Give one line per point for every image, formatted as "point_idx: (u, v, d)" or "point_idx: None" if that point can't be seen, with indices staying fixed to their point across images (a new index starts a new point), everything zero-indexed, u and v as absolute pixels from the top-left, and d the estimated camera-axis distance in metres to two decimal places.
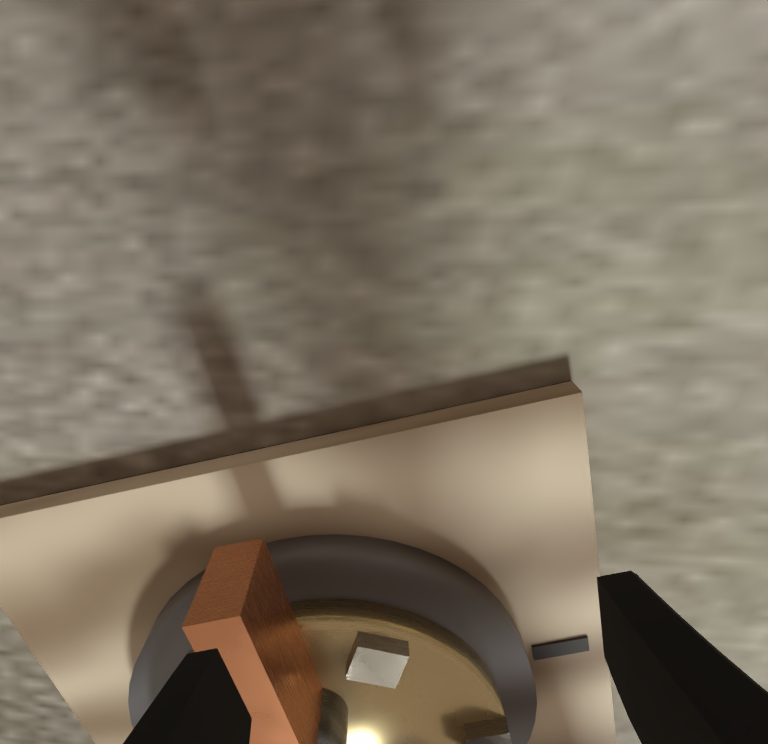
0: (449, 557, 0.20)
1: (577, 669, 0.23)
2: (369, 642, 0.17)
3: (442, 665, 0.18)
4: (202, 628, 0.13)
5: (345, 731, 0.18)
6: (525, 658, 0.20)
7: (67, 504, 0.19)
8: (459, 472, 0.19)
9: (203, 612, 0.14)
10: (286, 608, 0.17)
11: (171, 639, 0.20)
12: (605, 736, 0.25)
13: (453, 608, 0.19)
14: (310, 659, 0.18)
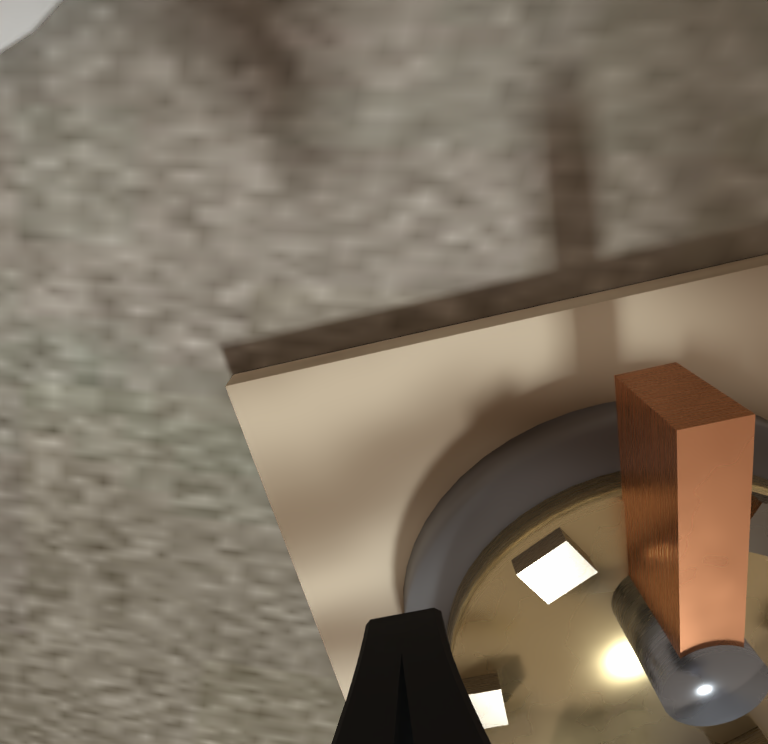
0: None
1: None
2: None
3: None
4: (701, 432, 0.11)
5: None
6: None
7: (372, 354, 0.16)
8: None
9: (690, 417, 0.11)
10: None
11: (481, 517, 0.17)
12: None
13: None
14: None
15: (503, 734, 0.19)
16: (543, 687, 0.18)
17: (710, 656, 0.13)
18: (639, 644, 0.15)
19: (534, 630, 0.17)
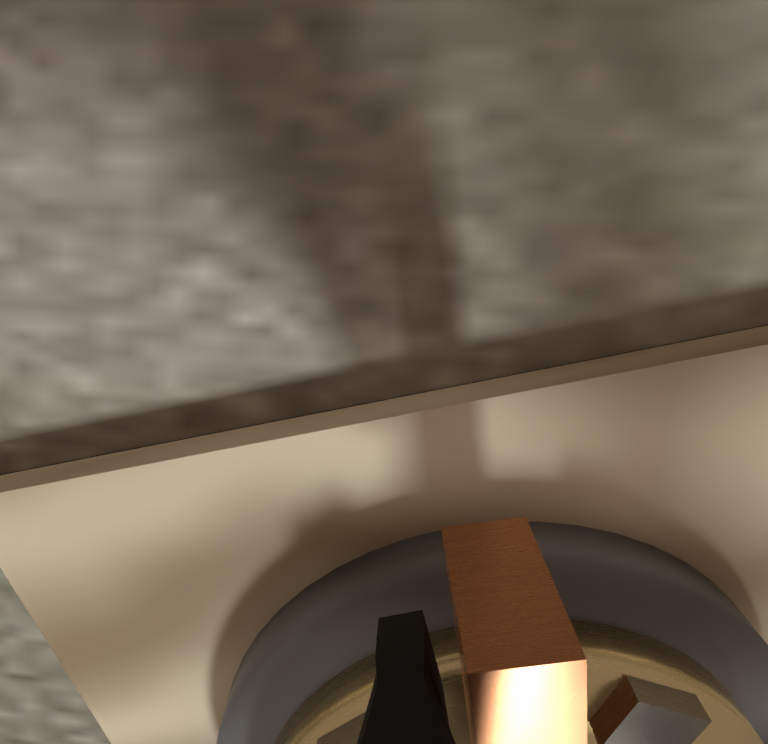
0: (692, 560, 0.14)
1: None
2: (649, 693, 0.11)
3: (731, 732, 0.12)
4: (505, 678, 0.07)
5: None
6: None
7: (143, 466, 0.13)
8: (740, 431, 0.12)
9: (497, 645, 0.07)
10: None
11: (289, 672, 0.13)
12: None
13: (715, 635, 0.13)
14: None
15: None
16: None
17: None
18: None
19: None
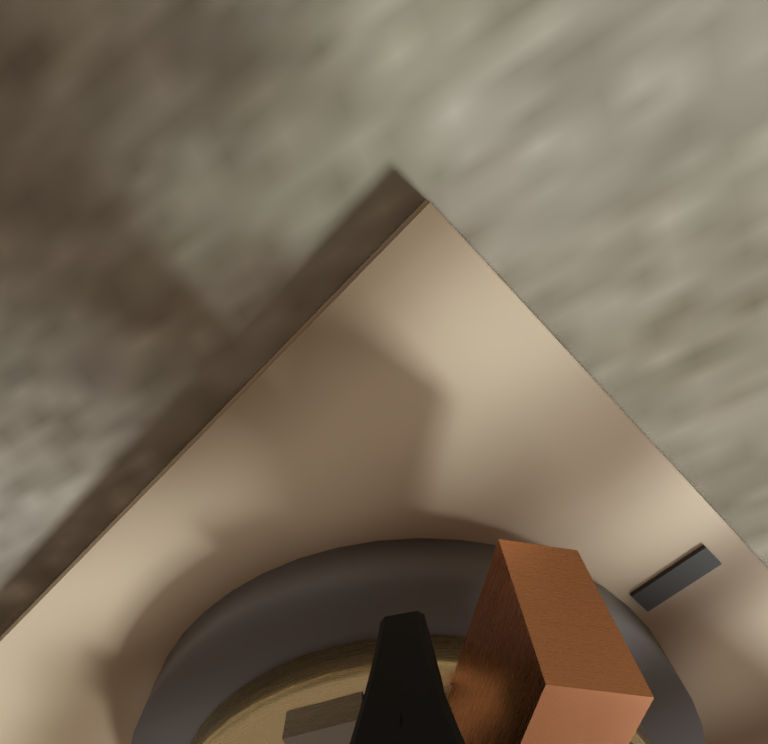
0: (426, 533, 0.14)
1: (723, 595, 0.14)
2: None
3: None
4: (575, 696, 0.07)
5: None
6: None
7: None
8: (349, 416, 0.12)
9: (570, 664, 0.07)
10: None
11: None
12: None
13: (453, 604, 0.12)
14: None
15: None
16: None
17: None
18: None
19: None
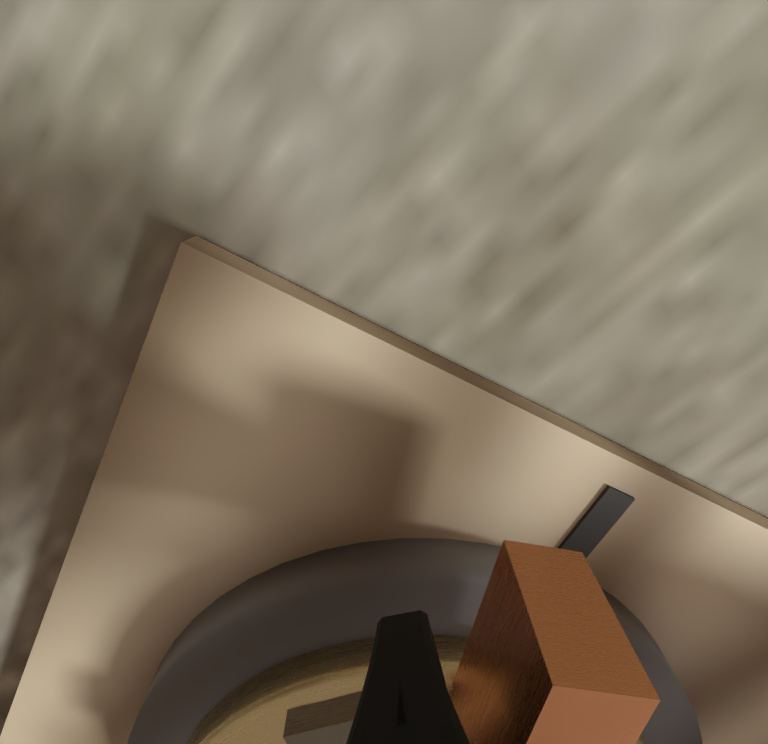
0: (324, 544, 0.14)
1: (655, 530, 0.14)
2: None
3: None
4: (582, 698, 0.07)
5: None
6: None
7: None
8: (202, 456, 0.13)
9: (577, 666, 0.07)
10: None
11: None
12: None
13: (353, 609, 0.13)
14: None
15: None
16: None
17: None
18: None
19: None
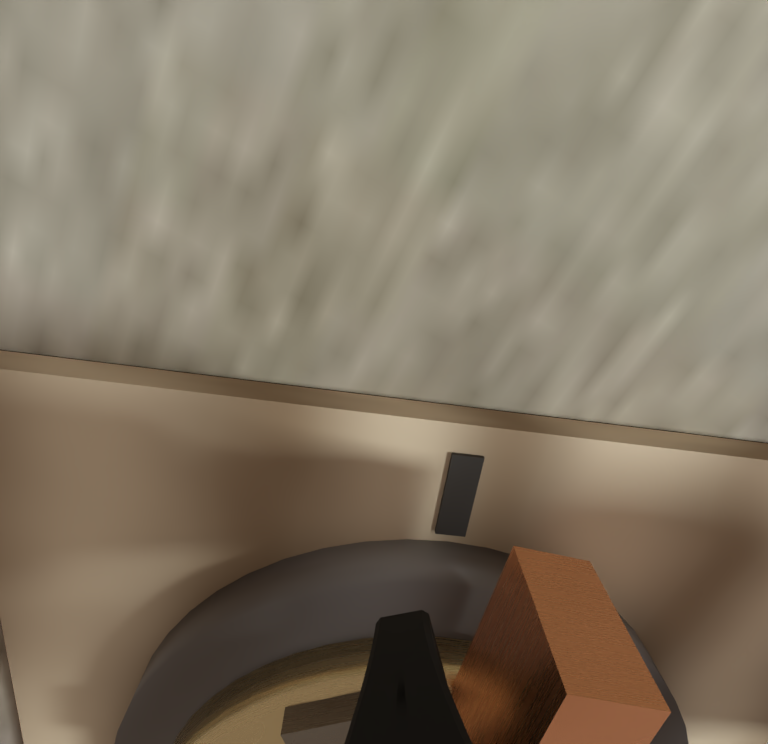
0: (217, 584, 0.14)
1: (525, 481, 0.13)
2: None
3: None
4: (594, 707, 0.07)
5: None
6: (387, 583, 0.12)
7: None
8: (70, 539, 0.13)
9: (589, 675, 0.08)
10: None
11: None
12: (724, 471, 0.13)
13: (242, 641, 0.13)
14: None
15: None
16: None
17: None
18: None
19: None
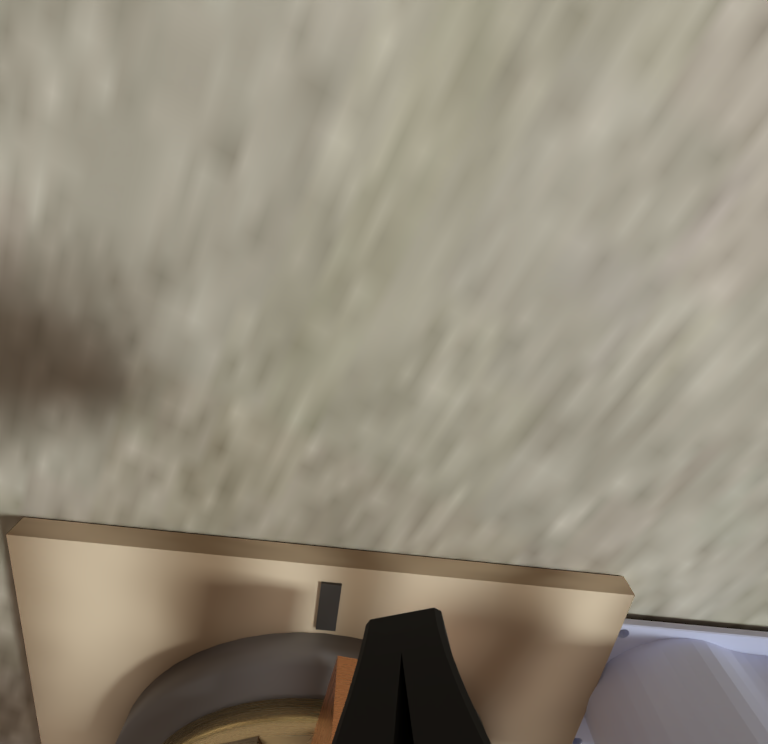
0: (175, 660, 0.21)
1: (370, 597, 0.20)
2: None
3: None
4: None
5: None
6: (278, 666, 0.19)
7: None
8: (78, 633, 0.21)
9: None
10: None
11: None
12: (498, 591, 0.20)
13: (188, 701, 0.20)
14: None
15: None
16: None
17: None
18: None
19: None
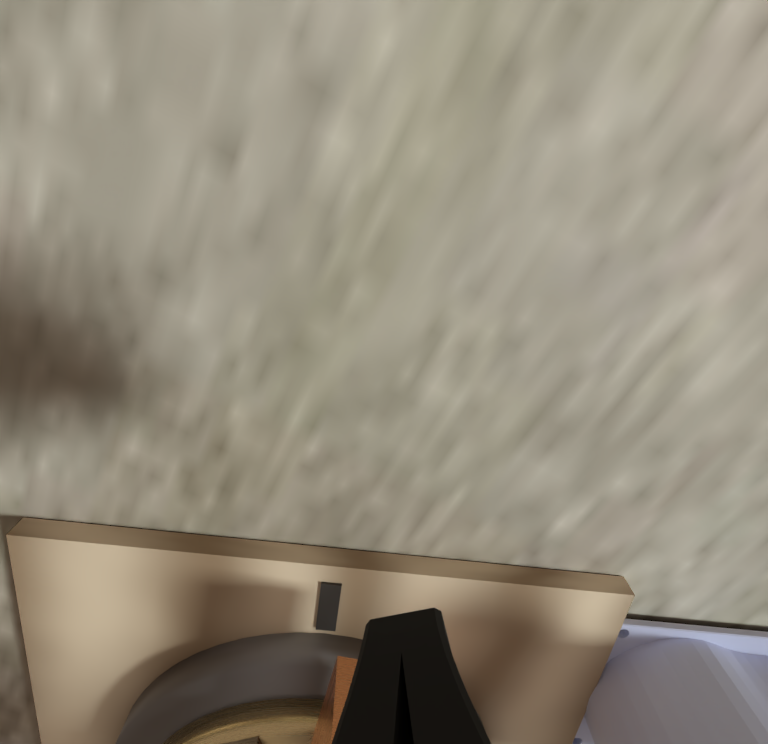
0: (175, 660, 0.21)
1: (370, 597, 0.20)
2: None
3: None
4: None
5: None
6: (278, 666, 0.19)
7: None
8: (78, 633, 0.21)
9: None
10: None
11: None
12: (498, 591, 0.20)
13: (188, 701, 0.20)
14: None
15: None
16: None
17: None
18: None
19: None
